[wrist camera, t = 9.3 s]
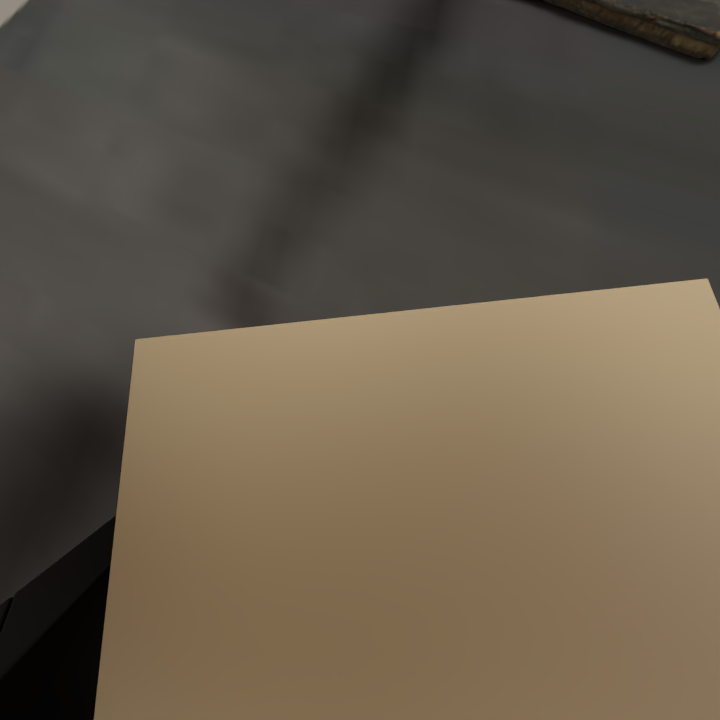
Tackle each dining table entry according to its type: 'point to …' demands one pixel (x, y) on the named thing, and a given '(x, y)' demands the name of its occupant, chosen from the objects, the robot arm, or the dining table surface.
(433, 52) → the dining table surface
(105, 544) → the robot arm
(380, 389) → the maple block
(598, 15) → the painting
